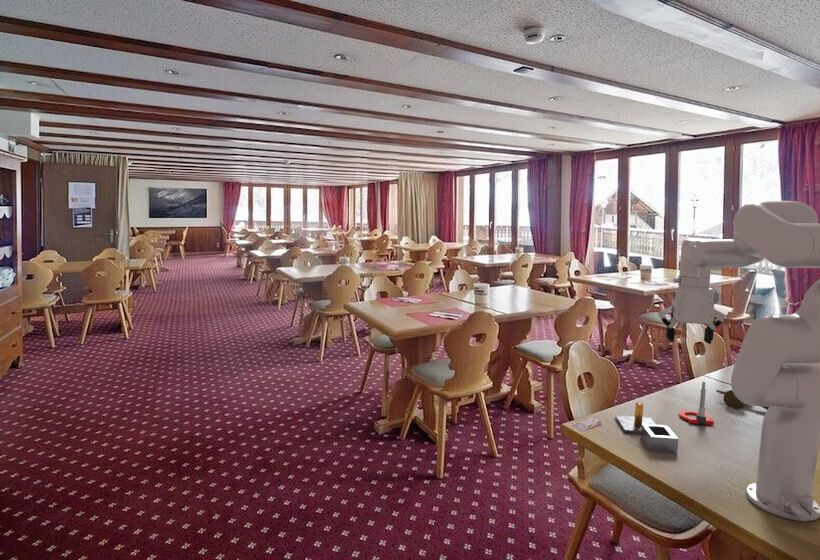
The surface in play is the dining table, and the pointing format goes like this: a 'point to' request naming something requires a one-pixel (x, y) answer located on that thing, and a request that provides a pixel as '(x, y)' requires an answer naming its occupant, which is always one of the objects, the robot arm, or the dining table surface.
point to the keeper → (634, 421)
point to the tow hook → (700, 416)
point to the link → (659, 438)
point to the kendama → (733, 400)
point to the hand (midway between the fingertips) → (688, 341)
